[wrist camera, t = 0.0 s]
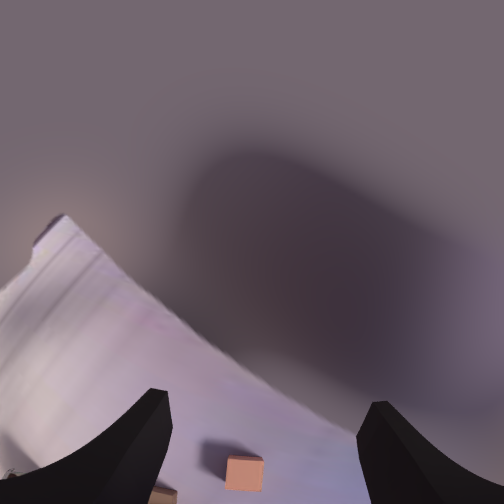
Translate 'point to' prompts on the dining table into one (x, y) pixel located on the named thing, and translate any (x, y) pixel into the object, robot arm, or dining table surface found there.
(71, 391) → the dining table surface
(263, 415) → the dining table surface
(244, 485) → the terracotta cube
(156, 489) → the walnut block
